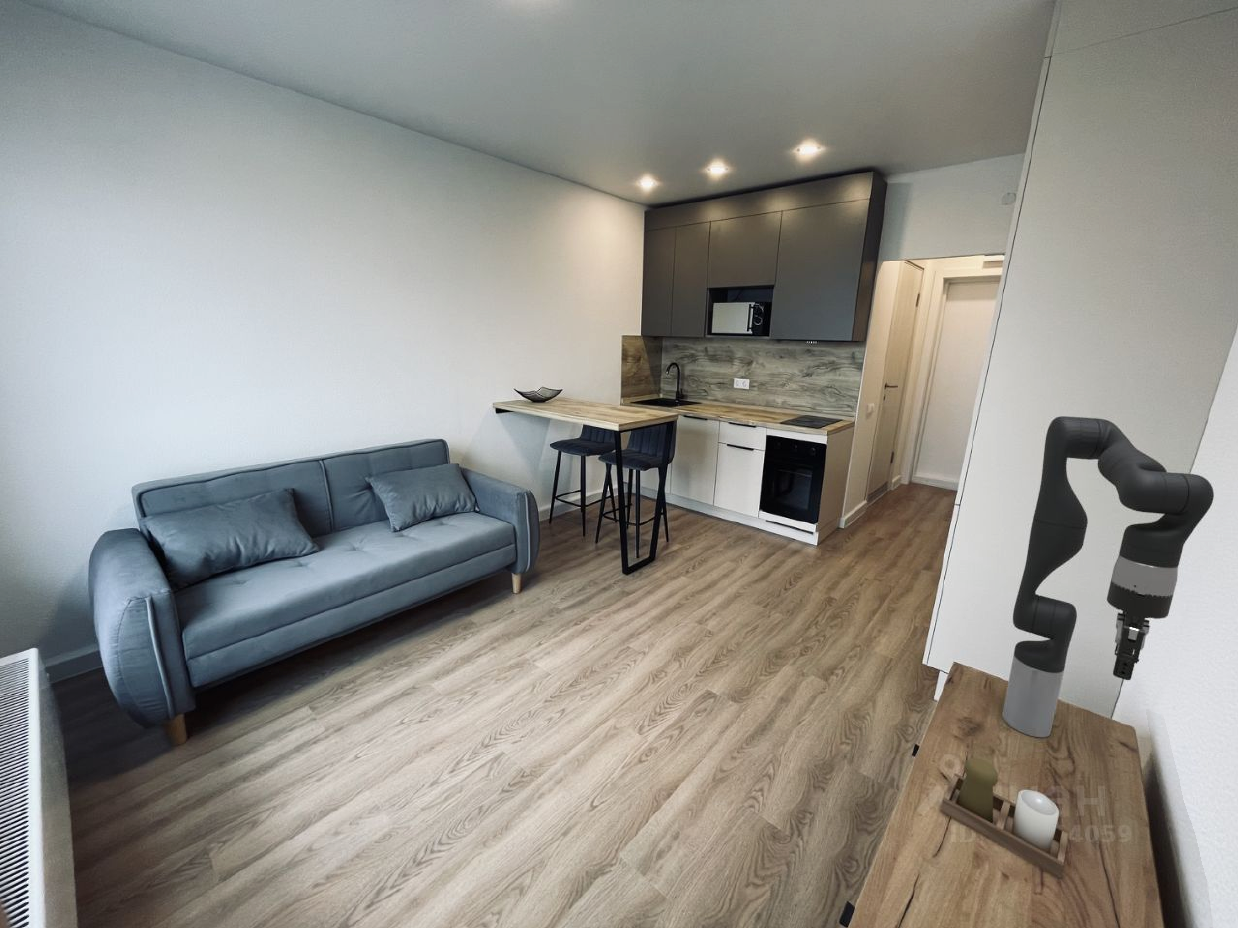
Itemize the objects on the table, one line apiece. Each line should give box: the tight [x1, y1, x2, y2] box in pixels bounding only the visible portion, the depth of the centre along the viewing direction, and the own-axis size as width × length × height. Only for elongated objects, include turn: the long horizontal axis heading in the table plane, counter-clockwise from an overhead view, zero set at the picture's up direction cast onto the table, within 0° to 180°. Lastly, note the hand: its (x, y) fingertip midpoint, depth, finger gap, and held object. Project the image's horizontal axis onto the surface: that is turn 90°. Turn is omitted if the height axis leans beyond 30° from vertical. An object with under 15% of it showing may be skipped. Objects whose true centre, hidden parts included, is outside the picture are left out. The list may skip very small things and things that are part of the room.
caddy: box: [940, 773, 1069, 880], centre depth 92 cm, size 9×18×4 cm, turn 44°
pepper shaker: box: [956, 756, 999, 823], centre depth 94 cm, size 6×6×11 cm
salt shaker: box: [1011, 789, 1060, 855], centre depth 88 cm, size 6×6×10 cm
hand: (1121, 667), depth 88 cm, fingers open, 8 cm apart
